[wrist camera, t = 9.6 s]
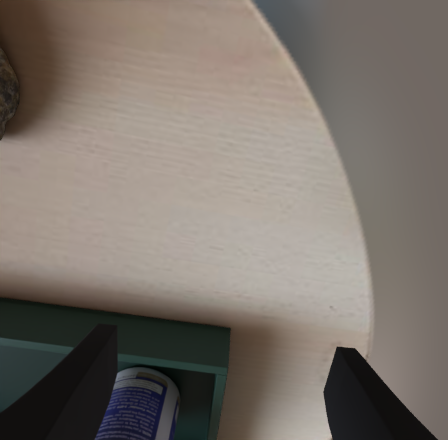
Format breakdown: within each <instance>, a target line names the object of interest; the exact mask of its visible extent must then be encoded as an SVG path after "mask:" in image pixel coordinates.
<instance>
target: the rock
mask: <svg viewBox="0 0 448 440" xmlns="http://www.w3.org/2000/svg"><path fill="white" fill-rule="evenodd" d="M18 104H19V83H18V80H17V77H16V75H15V73H14V71H13V69H12V68H11V66H10V65H9V62H8V58H7V57H6V55H5V53H4V52H3V50H2V49H1V48H0V140H1V139H2V137H3V135H4V132H5V124H6V122H7V121H8V120H9V119H10V118H12V117H13V116H14V113H15V111H16V107H17V105H18Z"/></svg>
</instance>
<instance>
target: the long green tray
mask: <svg viewBox="0 0 448 440" xmlns="http://www.w3.org/2000/svg"><path fill="white" fill-rule="evenodd" d="M98 323H100V324H110V325H117V341H118V373H119V372H120V371H122V370H125V369H128V368H134V367H144V368H150V369H154V370H157V371H159V372H161V373H163V374H165V375H166V376H168V377H169V378H170V379H171V380H172V381H173V382H174V383H175V385H176V386H177V388H178V390H179V394H180V407H179V413H178V418H177V423H176V428H175V434H174V439H173V440H217V434H218V428H219V422H220V416H221V410H222V404H223V397H224V391H225V385H226V379H227V373H228V365H229V348H230V331H231V329H230V328H226V327H219V326H211V325H204V324H196V323H189V322H181V321H174V320H166V319H159V318H151V317H144V316H136V315H129V314H121V313H114V312H106V311H99V310H91V309H84V308H76V307H68V306H61V305H53V304H46V303H38V302H31V301H23V300H16V299H8V298H1V297H0V413H1V412H2V411H3V410H4V409H6V408H7V407H8V406H10V405H11V404H12V403H14V402H15V401H16V400H17V399H19V398H20V397H21V396H22V395H23V394H25V393H26V392H27V391H28V390H29V389H30V388H32V387H33V386H34V385H35V384H36V383H37V382H38V381H40V380H41V379H42V378H43V377H44V376H45V375H46V374H48V373H49V372H50V371H51V370H52V369H53V368H54V367H55V366H56V365H57V364H58V363H59V362H60V361H61V360H62V359H63V358H64V357H65V356H67V355H68V354H69V353H70V352H71V351H72V350H73V349H74V348H75V347H76V346H77V344H78V343H79V342H80V341H81V340H82V339H83V338H84V337H85V336H86V335H87V334H88V333H89V332H90V331H91V330H92V329H93V328H94V327H95V326H96V325H97V324H98Z"/></svg>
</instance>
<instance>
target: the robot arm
mask: <svg viewBox="0 0 448 440" xmlns="http://www.w3.org/2000/svg"><path fill="white" fill-rule="evenodd" d="M117 373H118V341H117V325H110V324H100V323H98V324H97V325H96V326H95V327H94V328H93V329H92V330H91V331H90V332H89V333H88V334H87V335H86V336H85V337H84V338H83V339H82V340H81V341H80V342H79V343H78V344H77V346H76V347H75V348H74V349H73V350H72V351H71V352H70V353H69V354H68V355H67V356H65V357H64V358H63V359H62V360H61V361H60V362H59V363H58V364H57V365H56V366H55V367H54V368H53V369H52V370H51V371H50V372H49V373H48V374H46V375H45V376H44V377H43V378H42V379H41V380H40V381H38V382H37V383H36V384H35V385H34V386H33V387H32V388H30V389H29V390H28V391H27V392H26V393H25V394H23V395H22V396H21V397H20V398H19V399H17V400H16V401H15V402H14V403H12V404H11V405H10V406H8V407H7V408H6V409H4V410H3V411H2V412H1V413H0V440H95V438H96V435H97V433H98V430H99V428H100V425H101V423H102V420H103V418H104V415H105V413H106V410H107V408H108V405H109V402H110V399H111V395H112V392H113V388H114V384H115V381H116V377H117ZM324 399H325V405H326V412H327V417H328V423H329V427H330V431H331V434H332V438H333V440H438V439H437V438H436V437H435V436H434V435H433V434H431V432H429V430H428V429H427V428H426V427H425V426H424V425H423V424H422V423H421V422H420V421H419V420H418V419H417V418H416V417H415V416H414V415H413V414H412V413H411V412H410V411H409V410H408V409H407V408H406V406H405V405H404V404H403V403H402V402H401V401H400V400H399V399H398V398H397V397H396V395H395V394H394V393H393V392H392V391H391V390H390V389H389V388H388V386H387V385H386V384H385V383H384V382H383V380H382V379H381V378H380V377H379V376H378V375H377V374H376V372H375V371H374V370H373V369H372V368H371V366H370V365H369V364H368V363H367V362H366V360H365V359H364V358H363V357H362V356H361V354H360V353H359V352H358V351H357V350H356V349H355V348H345V347H337V348H336V352H335V355H334V358H333V362H332V365H331V368H330V372H329V375H328V378H327V382H326V385H325V388H324Z"/></svg>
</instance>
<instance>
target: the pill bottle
mask: <svg viewBox="0 0 448 440" xmlns="http://www.w3.org/2000/svg"><path fill="white" fill-rule="evenodd" d="M179 407H180V394H179V390H178V388H177V386H176V385H175V383H174V382H173V381H172V380H171V379H170V378H169V377H168V376H166V375H165V374H163V373H161V372H159V371H157V370H154V369H150V368H144V367H134V368H128V369H125V370H122V371H120V372H119V373H117V377H116V381H115V384H114V388H113V392H112V395H111V399H110V402H109V405H108V408H107V410H106V413H105V415H104V418H103V420H102V423H101V425H100V428H99V430H98V433H97V435H96V438H95V440H173V439H174V434H175V428H176V423H177V418H178V413H179Z"/></svg>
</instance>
